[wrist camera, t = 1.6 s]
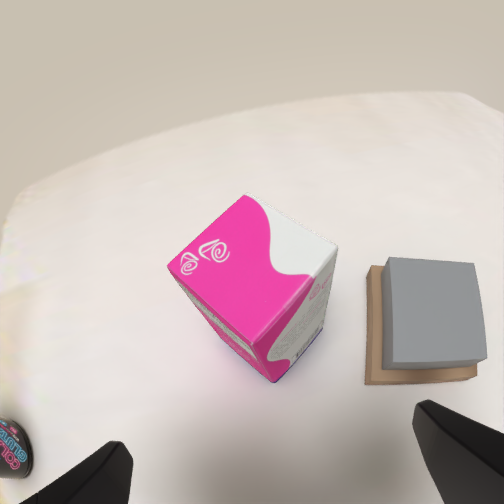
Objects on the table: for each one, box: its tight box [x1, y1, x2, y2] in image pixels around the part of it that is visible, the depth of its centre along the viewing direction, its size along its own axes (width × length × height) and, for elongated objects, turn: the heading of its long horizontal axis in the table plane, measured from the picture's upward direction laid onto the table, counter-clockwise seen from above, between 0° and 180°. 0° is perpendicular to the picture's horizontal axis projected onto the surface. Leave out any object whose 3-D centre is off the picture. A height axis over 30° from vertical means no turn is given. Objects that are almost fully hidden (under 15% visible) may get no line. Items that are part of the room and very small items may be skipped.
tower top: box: [381, 257, 487, 370], centre depth 18 cm, size 8×8×2 cm
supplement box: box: [167, 193, 338, 383], centre depth 18 cm, size 6×6×12 cm
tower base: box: [365, 265, 477, 385], centre depth 21 cm, size 9×9×2 cm
